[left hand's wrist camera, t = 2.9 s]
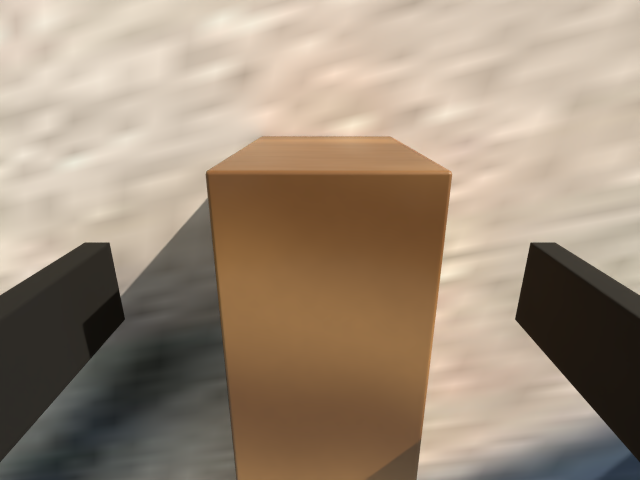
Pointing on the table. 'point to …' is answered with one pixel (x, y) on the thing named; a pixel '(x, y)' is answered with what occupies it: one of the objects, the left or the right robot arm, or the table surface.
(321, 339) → the beam
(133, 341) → the table surface
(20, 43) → the table surface
